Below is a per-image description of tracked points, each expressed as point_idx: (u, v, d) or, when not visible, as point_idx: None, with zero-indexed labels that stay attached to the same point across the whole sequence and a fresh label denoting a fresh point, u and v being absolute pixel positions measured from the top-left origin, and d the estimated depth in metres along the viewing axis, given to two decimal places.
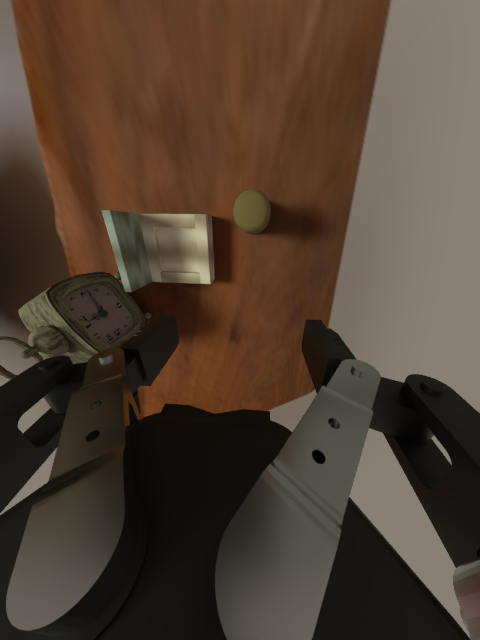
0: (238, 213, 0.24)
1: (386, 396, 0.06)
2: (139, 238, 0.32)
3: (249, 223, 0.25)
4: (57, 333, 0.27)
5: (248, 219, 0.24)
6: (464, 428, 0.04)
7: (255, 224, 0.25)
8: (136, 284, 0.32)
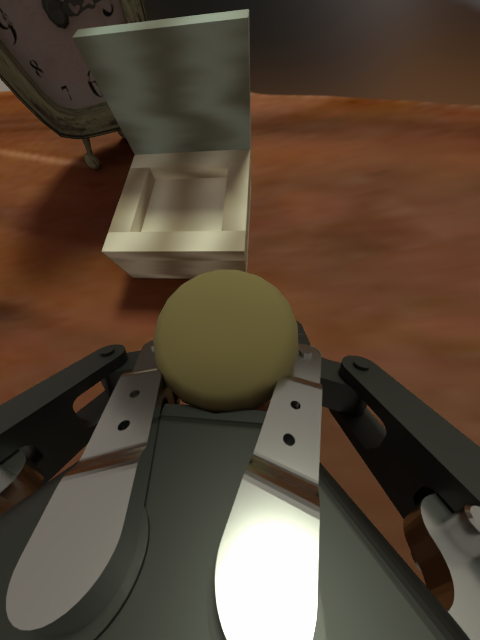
0: (216, 276, 0.06)
1: (325, 374, 0.07)
2: (208, 134, 0.17)
3: (173, 318, 0.06)
4: None
5: (188, 313, 0.05)
6: (389, 396, 0.05)
7: (164, 346, 0.05)
8: (104, 75, 0.14)
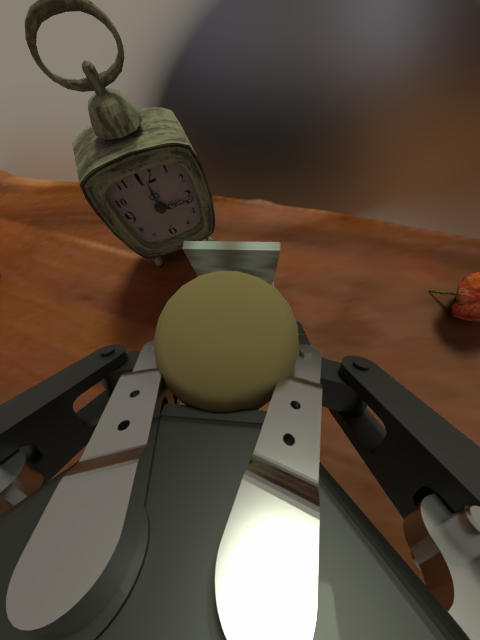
0: (216, 278, 0.06)
1: (325, 374, 0.07)
2: None
3: (174, 320, 0.06)
4: (125, 131, 0.18)
5: (188, 315, 0.05)
6: (388, 396, 0.05)
7: (165, 348, 0.05)
8: (193, 257, 0.24)
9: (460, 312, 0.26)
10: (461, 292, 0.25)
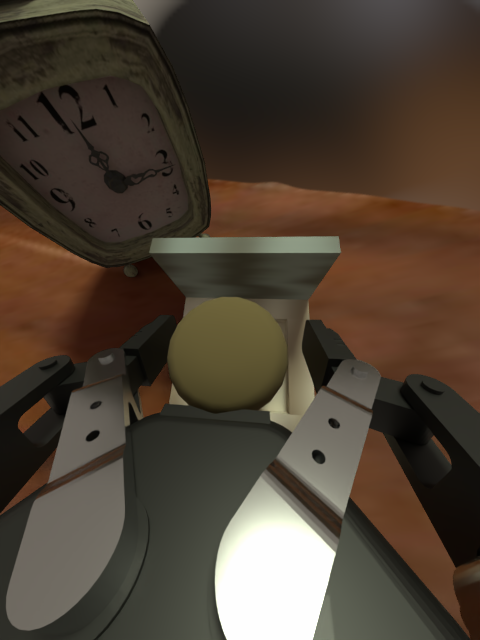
0: (219, 305, 0.07)
1: (386, 396, 0.06)
2: (268, 293, 0.16)
3: (184, 341, 0.07)
4: None
5: (196, 337, 0.07)
6: (464, 428, 0.04)
7: (178, 364, 0.07)
8: (173, 268, 0.13)
9: None
10: None
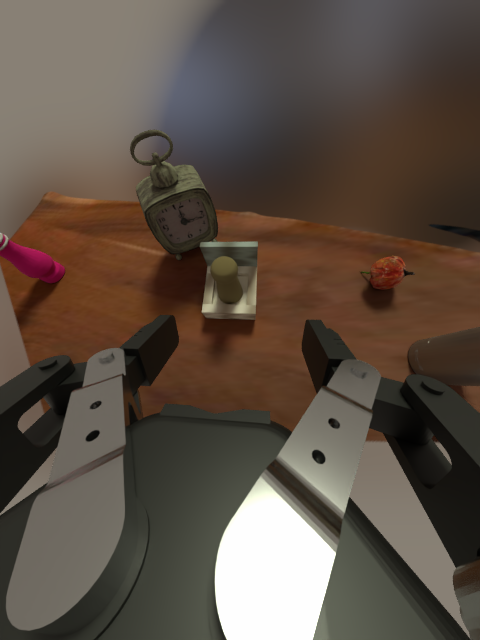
0: (222, 257, 0.33)
1: (386, 396, 0.06)
2: (240, 263, 0.42)
3: (215, 264, 0.33)
4: (170, 183, 0.33)
5: (217, 263, 0.33)
6: (464, 428, 0.04)
7: (213, 268, 0.32)
8: (206, 252, 0.39)
9: (373, 283, 0.41)
10: (372, 270, 0.40)
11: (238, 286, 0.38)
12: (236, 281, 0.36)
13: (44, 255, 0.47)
